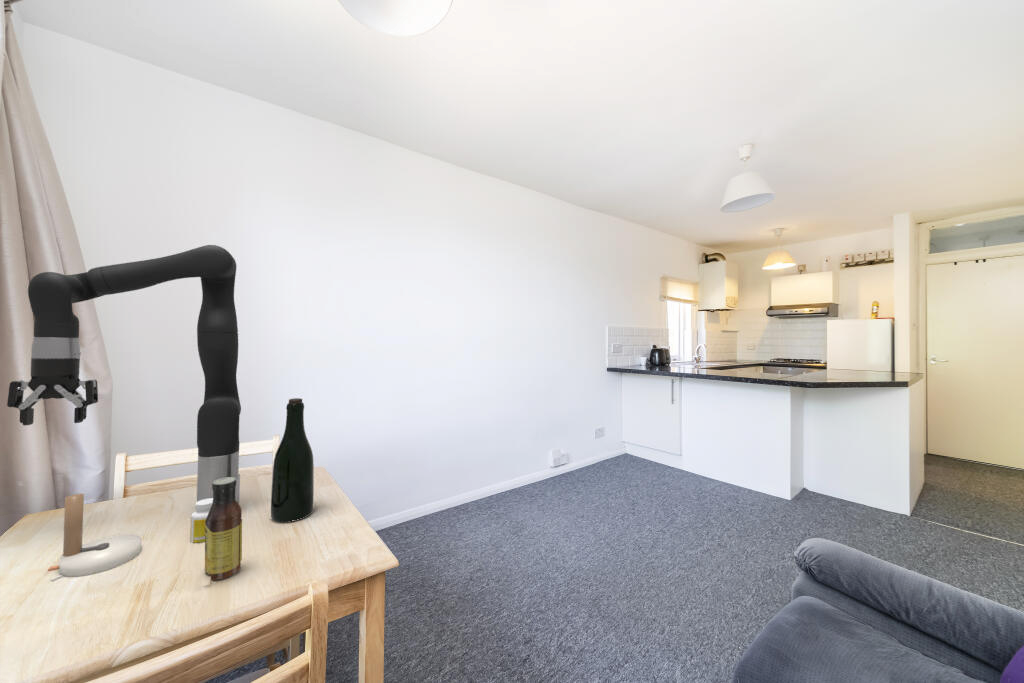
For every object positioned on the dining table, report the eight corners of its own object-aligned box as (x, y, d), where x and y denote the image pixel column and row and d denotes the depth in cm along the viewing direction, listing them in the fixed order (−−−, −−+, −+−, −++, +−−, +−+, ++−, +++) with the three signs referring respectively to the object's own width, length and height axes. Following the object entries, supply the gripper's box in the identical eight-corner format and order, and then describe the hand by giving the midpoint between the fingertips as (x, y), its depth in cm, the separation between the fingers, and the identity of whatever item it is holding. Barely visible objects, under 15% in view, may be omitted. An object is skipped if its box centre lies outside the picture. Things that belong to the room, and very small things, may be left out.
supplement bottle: (223, 539, 93) (224, 499, 94) (197, 549, 89) (198, 508, 89) (210, 534, 96) (212, 495, 96) (185, 544, 91) (186, 503, 91)
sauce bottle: (217, 564, 83) (220, 474, 83) (248, 564, 83) (250, 473, 84) (195, 583, 76) (198, 485, 77) (228, 582, 77) (231, 484, 77)
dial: (149, 540, 90) (151, 479, 90) (128, 567, 80) (130, 497, 80) (77, 552, 84) (79, 487, 84) (44, 583, 74) (47, 508, 74)
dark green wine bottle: (273, 527, 100) (276, 402, 100) (268, 513, 108) (271, 397, 108) (316, 516, 106) (320, 399, 107) (309, 504, 115) (312, 395, 115)
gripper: (0, 356, 85) (-3, 429, 85) (88, 357, 91) (86, 424, 91) (24, 355, 92) (21, 422, 91) (104, 356, 98) (102, 418, 98)
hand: (54, 423), depth 91 cm, fingers open, 8 cm apart
